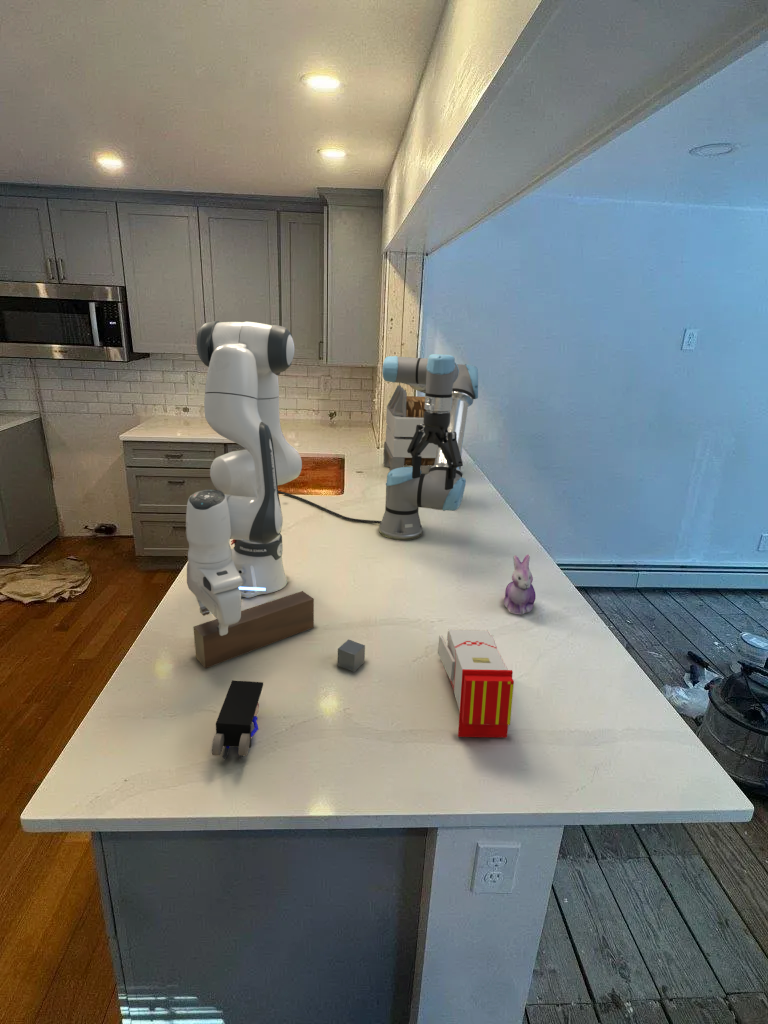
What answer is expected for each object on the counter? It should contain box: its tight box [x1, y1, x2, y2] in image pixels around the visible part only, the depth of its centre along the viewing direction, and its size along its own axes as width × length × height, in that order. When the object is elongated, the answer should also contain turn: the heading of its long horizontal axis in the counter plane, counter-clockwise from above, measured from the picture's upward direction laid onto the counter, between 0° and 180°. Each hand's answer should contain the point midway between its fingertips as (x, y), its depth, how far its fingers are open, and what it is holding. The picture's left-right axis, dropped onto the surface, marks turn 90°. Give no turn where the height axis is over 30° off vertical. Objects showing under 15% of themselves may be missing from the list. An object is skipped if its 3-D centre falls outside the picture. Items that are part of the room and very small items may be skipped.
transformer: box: [383, 384, 463, 472], centre depth 268 cm, size 34×33×41 cm
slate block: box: [336, 639, 366, 673], centre depth 125 cm, size 4×4×4 cm
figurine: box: [503, 553, 537, 615], centre depth 151 cm, size 9×10×15 cm
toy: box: [437, 628, 515, 738], centre depth 117 cm, size 12×13×30 cm
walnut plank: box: [192, 590, 315, 669], centre depth 131 cm, size 5×28×8 cm, turn 131°
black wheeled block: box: [211, 679, 264, 761], centre depth 102 cm, size 7×8×15 cm
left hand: (213, 623), depth 124 cm, fingers open, 8 cm apart
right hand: (432, 483), depth 167 cm, fingers open, 13 cm apart
